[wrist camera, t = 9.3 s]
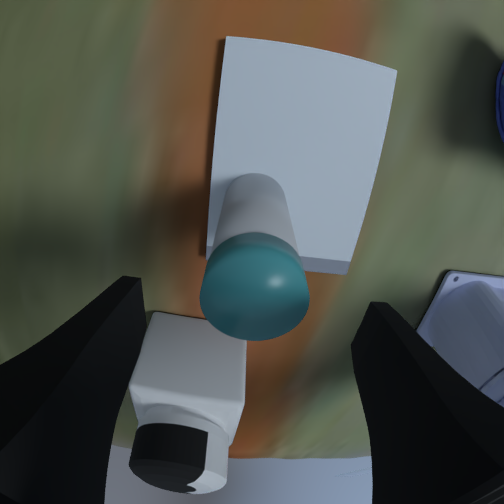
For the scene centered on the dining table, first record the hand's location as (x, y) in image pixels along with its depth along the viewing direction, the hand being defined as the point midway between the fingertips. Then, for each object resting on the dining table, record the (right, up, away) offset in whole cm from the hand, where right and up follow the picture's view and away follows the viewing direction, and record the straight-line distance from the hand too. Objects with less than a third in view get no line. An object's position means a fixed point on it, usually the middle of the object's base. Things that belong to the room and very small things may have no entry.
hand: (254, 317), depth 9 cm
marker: (0, +5, +8) cm, 9 cm away
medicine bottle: (-5, -6, +15) cm, 17 cm away
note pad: (+2, +7, +7) cm, 10 cm away
